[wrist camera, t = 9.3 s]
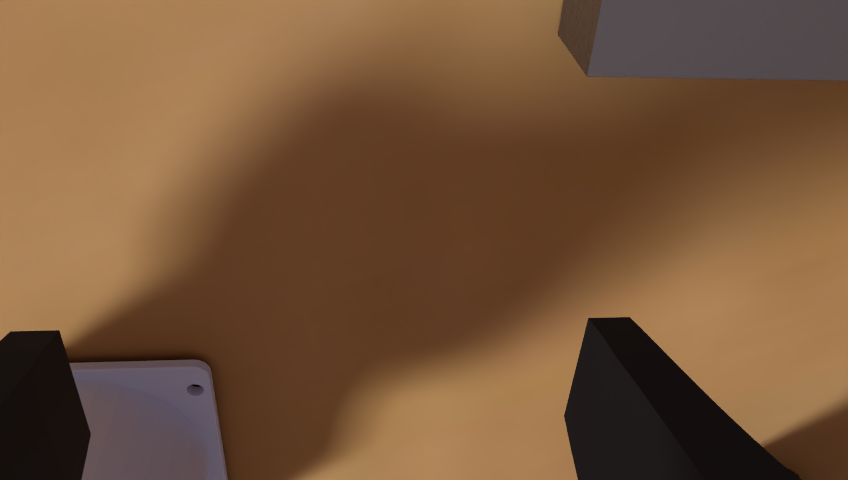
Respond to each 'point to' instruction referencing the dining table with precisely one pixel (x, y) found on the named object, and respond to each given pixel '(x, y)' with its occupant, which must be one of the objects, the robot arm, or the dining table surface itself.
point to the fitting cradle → (708, 38)
